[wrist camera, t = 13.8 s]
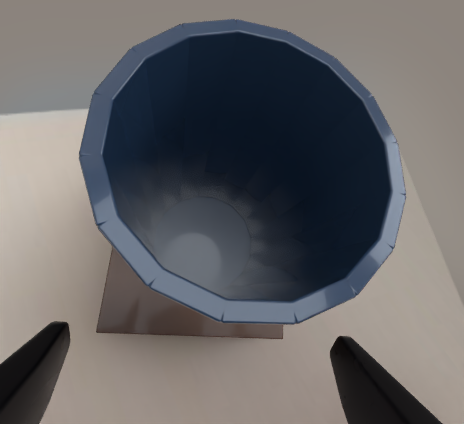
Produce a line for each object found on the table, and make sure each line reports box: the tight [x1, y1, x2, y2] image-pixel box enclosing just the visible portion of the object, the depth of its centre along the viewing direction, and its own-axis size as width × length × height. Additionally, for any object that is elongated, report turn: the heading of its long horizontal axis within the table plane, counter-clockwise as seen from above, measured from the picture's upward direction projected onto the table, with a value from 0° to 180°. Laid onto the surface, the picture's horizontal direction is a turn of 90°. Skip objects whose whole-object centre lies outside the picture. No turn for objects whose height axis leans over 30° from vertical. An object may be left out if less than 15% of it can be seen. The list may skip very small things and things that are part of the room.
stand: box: [96, 247, 283, 339], centre depth 19 cm, size 11×11×4 cm
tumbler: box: [79, 19, 406, 325], centre depth 11 cm, size 7×7×12 cm
